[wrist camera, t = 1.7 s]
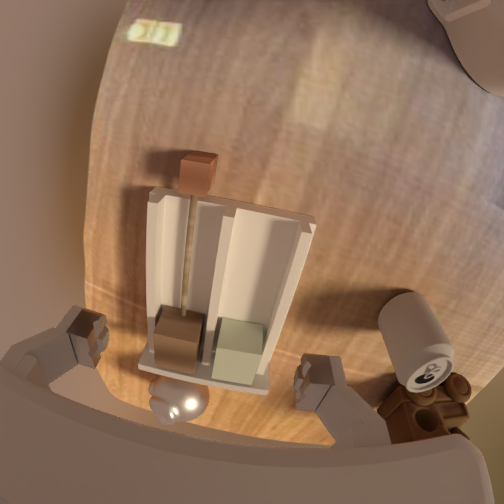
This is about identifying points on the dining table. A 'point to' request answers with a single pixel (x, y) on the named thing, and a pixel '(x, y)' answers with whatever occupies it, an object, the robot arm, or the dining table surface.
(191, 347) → the brown block pusher rod
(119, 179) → the dining table surface
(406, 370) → the can
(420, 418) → the wooden toy train
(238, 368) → the sage block
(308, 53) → the dining table surface
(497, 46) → the robot arm
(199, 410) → the grey round lump
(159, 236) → the lane shelf
